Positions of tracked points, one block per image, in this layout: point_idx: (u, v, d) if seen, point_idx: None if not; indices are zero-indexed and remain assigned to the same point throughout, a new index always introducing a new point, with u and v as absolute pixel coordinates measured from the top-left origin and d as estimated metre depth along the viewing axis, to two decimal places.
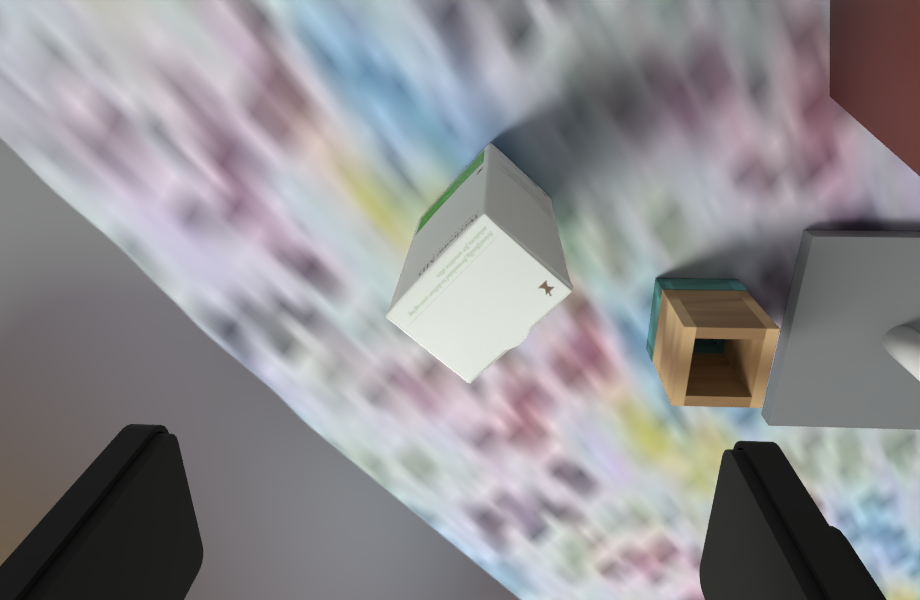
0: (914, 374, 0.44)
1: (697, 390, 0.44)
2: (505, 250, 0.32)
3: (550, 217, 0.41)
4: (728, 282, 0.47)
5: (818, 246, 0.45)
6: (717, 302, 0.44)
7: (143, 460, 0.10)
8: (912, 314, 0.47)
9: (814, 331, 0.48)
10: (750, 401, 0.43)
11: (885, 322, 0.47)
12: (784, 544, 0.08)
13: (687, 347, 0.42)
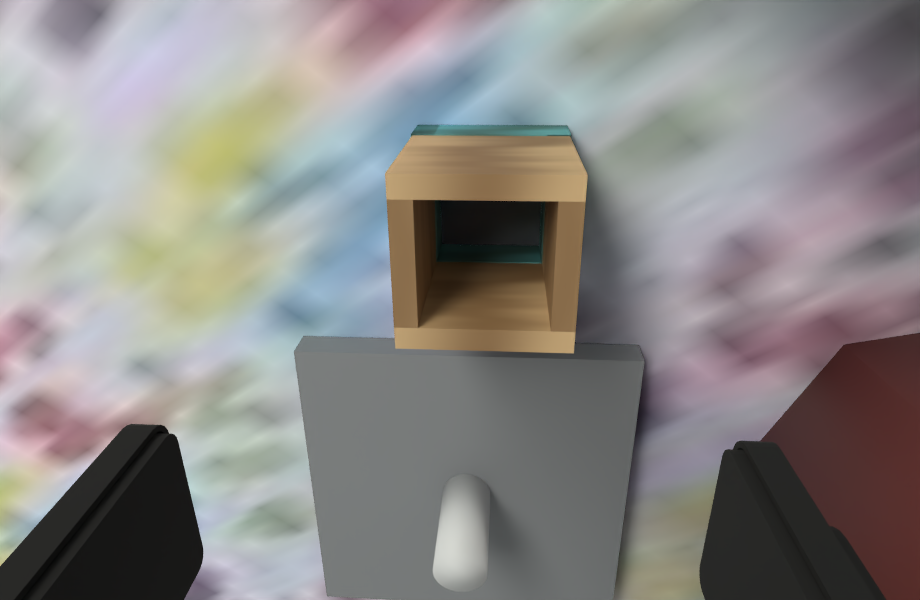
0: (448, 537, 0.28)
1: (416, 223, 0.20)
2: None
3: None
4: None
5: (626, 371, 0.29)
6: None
7: (143, 460, 0.10)
8: (508, 500, 0.33)
9: (478, 388, 0.30)
10: (407, 326, 0.21)
11: (495, 472, 0.32)
12: (784, 544, 0.08)
13: (536, 188, 0.19)
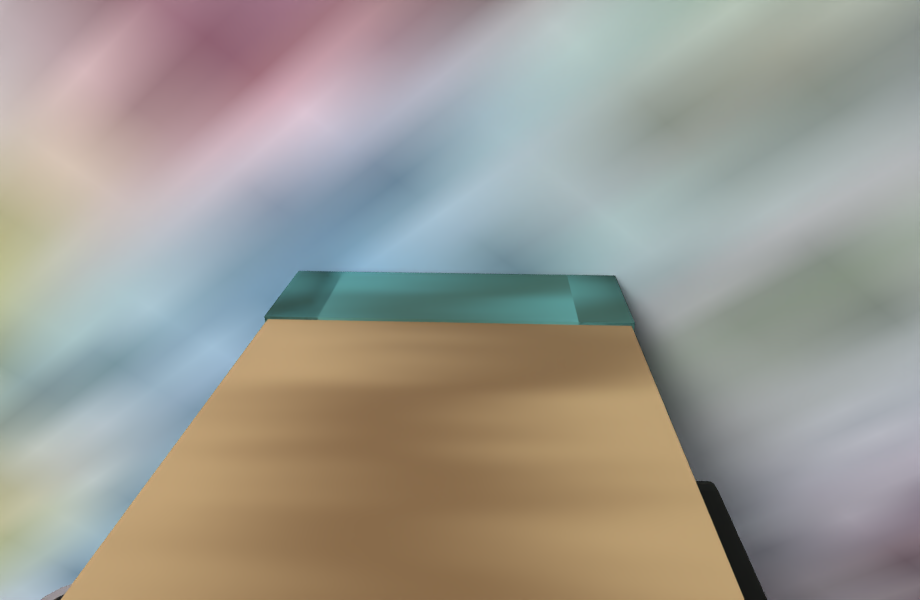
0: None
1: None
2: None
3: None
4: None
5: None
6: None
7: None
8: None
9: None
10: None
11: None
12: None
13: None
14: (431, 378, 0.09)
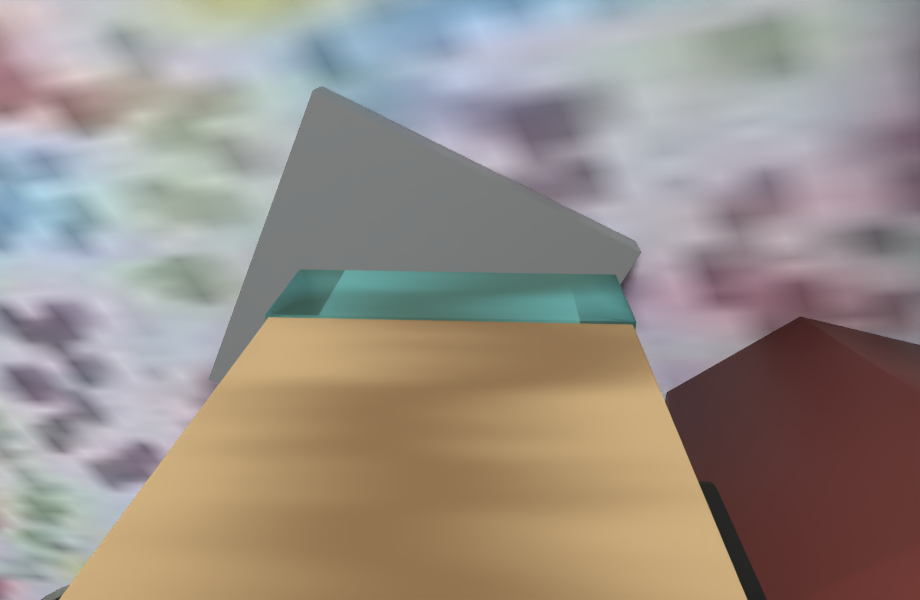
0: None
1: None
2: None
3: None
4: None
5: (621, 255, 0.29)
6: None
7: None
8: None
9: (477, 214, 0.29)
10: None
11: None
12: None
13: None
14: (432, 376, 0.09)
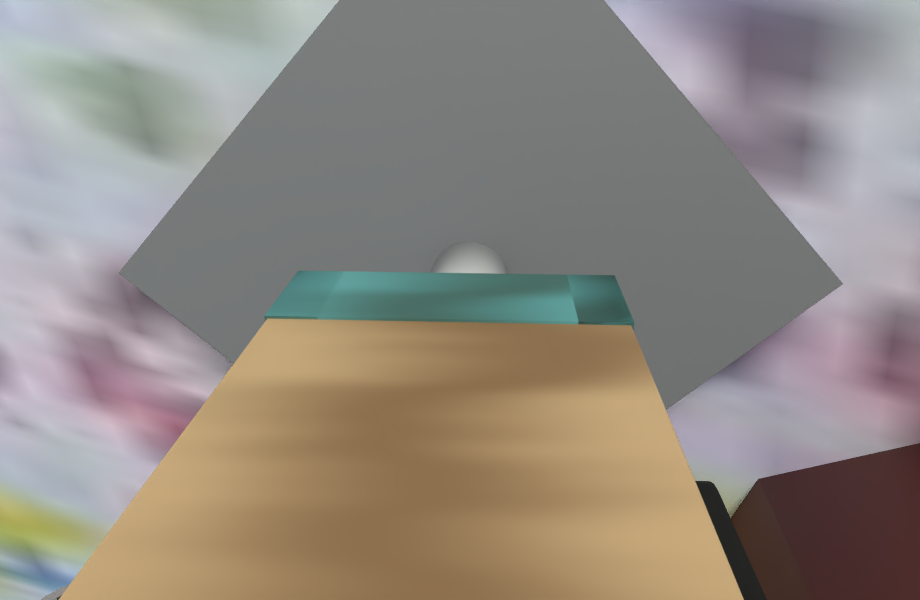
0: None
1: None
2: None
3: None
4: None
5: (813, 279, 0.19)
6: None
7: None
8: None
9: (641, 149, 0.18)
10: None
11: None
12: None
13: None
14: (431, 377, 0.09)
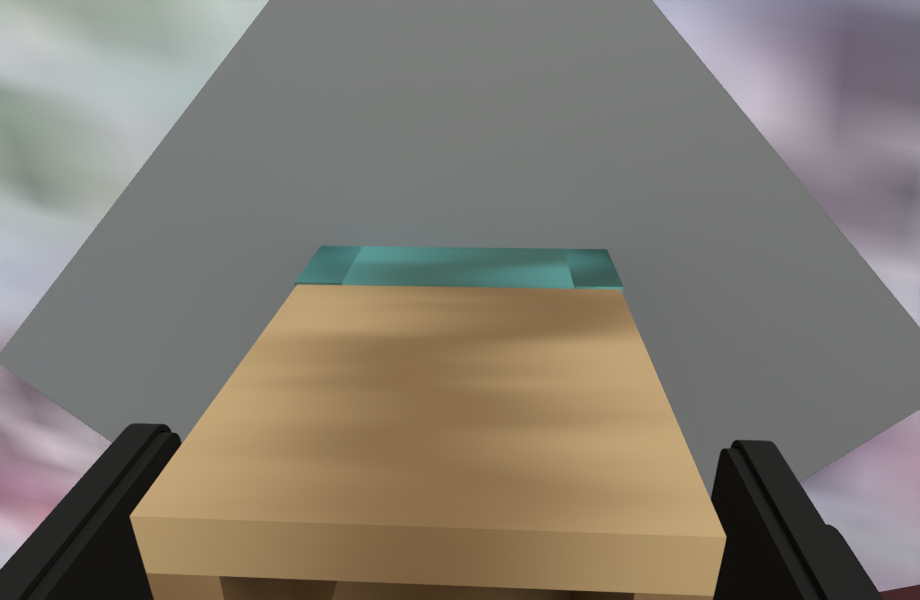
0: None
1: (252, 591, 0.08)
2: None
3: None
4: None
5: None
6: None
7: (146, 459, 0.10)
8: None
9: (697, 204, 0.13)
10: None
11: None
12: (780, 543, 0.08)
13: (572, 564, 0.06)
14: (445, 330, 0.10)
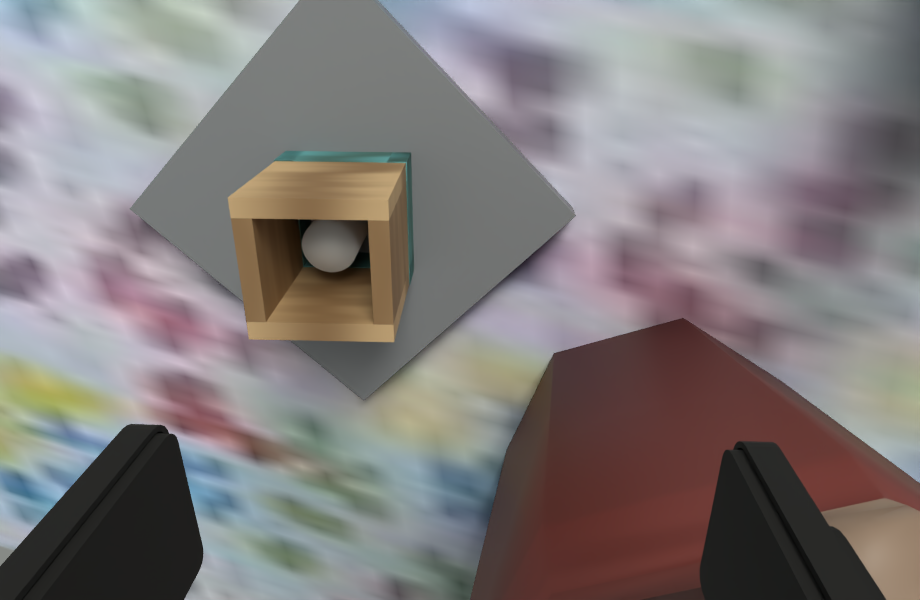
0: None
1: (260, 237, 0.25)
2: None
3: None
4: (412, 257, 0.32)
5: (558, 212, 0.32)
6: (402, 246, 0.29)
7: (143, 460, 0.10)
8: None
9: (446, 132, 0.30)
10: (257, 321, 0.26)
11: None
12: (784, 544, 0.08)
13: (349, 210, 0.24)
14: (329, 171, 0.28)
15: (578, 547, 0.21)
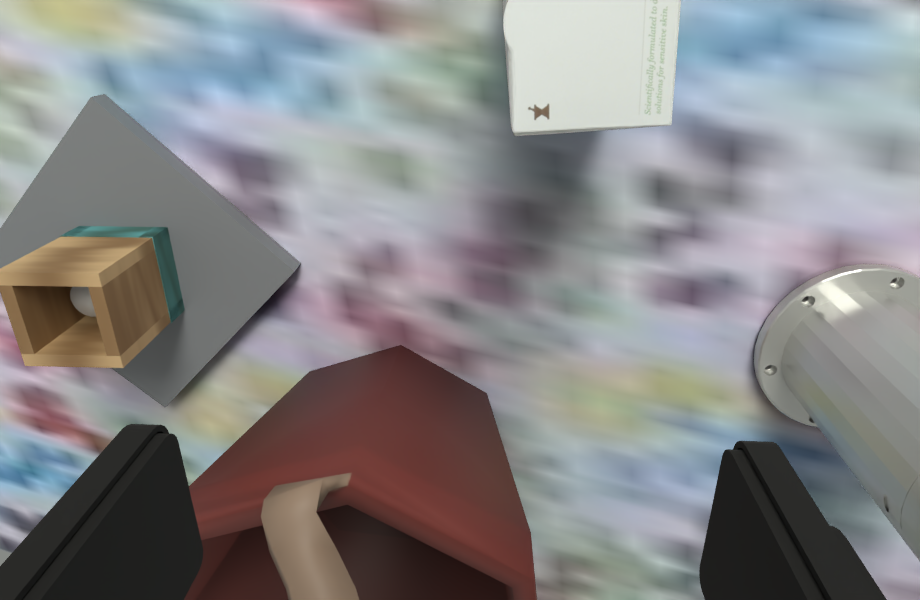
0: None
1: (24, 296, 0.37)
2: (617, 109, 0.24)
3: None
4: (178, 302, 0.44)
5: (281, 269, 0.43)
6: (146, 298, 0.40)
7: (143, 460, 0.10)
8: None
9: (190, 213, 0.42)
10: (28, 353, 0.38)
11: None
12: (785, 544, 0.08)
13: (74, 280, 0.35)
14: (89, 246, 0.39)
15: None
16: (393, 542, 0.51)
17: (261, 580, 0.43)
